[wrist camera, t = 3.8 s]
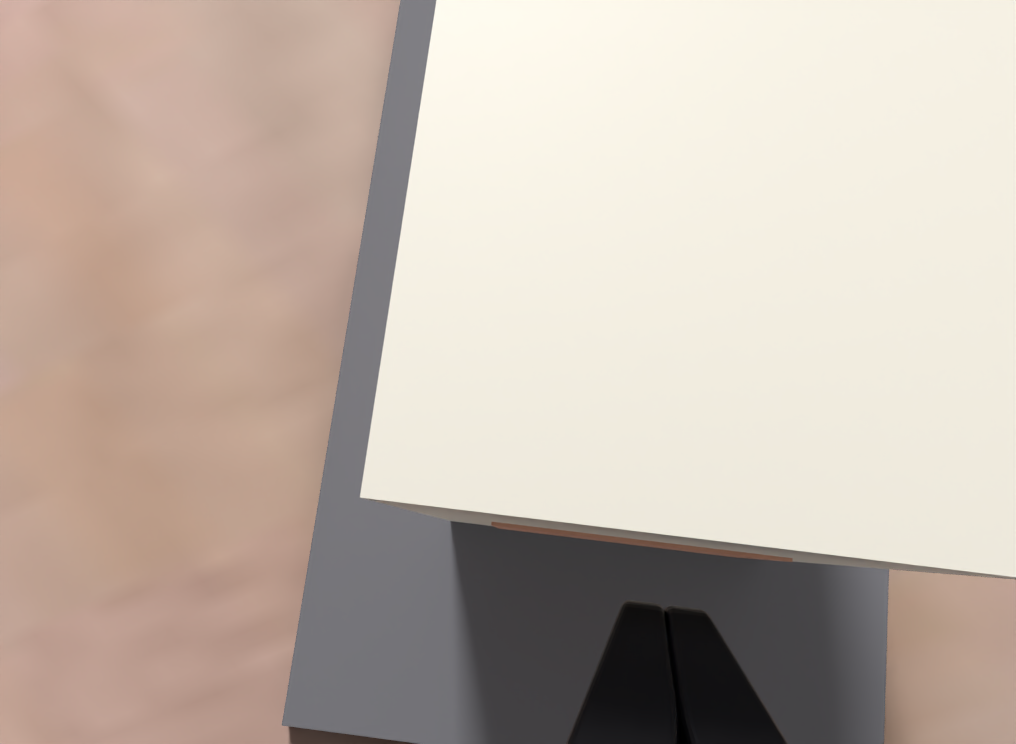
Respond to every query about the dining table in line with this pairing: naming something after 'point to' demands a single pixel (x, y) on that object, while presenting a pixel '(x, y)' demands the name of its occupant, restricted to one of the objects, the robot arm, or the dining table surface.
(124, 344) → the dining table surface
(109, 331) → the dining table surface
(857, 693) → the mat
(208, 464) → the dining table surface
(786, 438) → the block
